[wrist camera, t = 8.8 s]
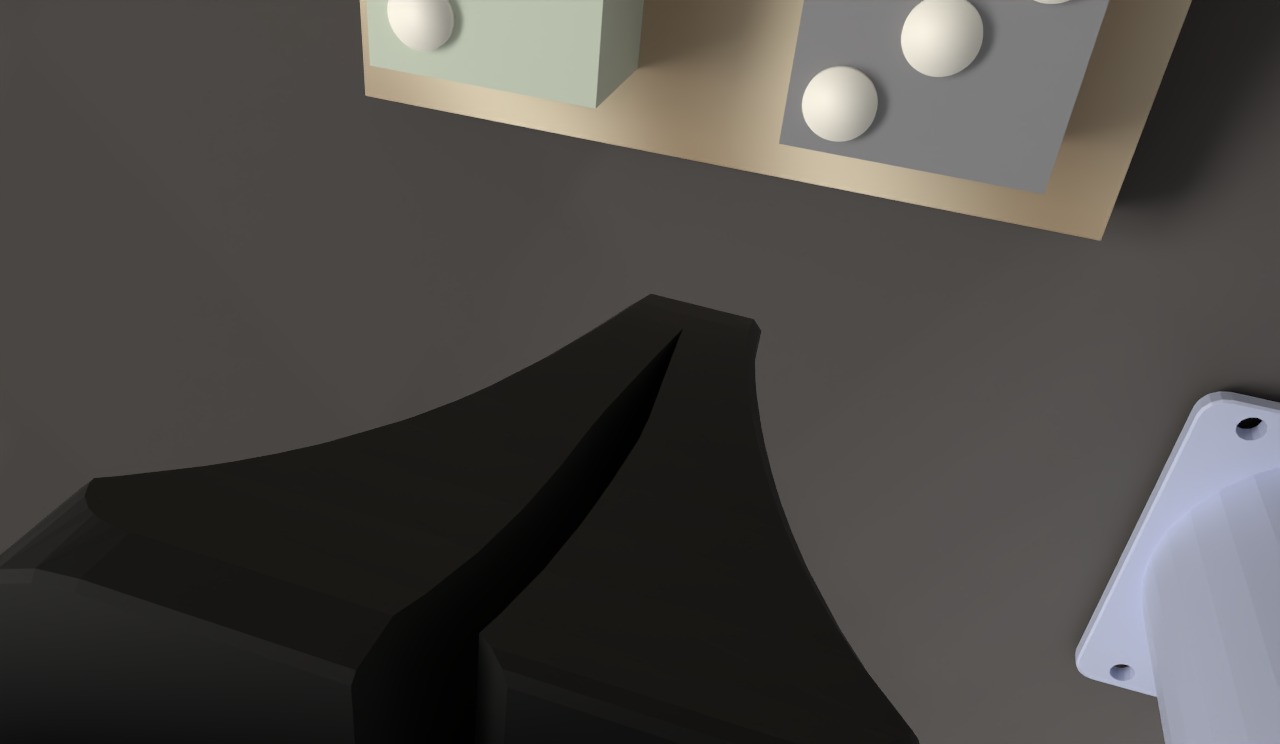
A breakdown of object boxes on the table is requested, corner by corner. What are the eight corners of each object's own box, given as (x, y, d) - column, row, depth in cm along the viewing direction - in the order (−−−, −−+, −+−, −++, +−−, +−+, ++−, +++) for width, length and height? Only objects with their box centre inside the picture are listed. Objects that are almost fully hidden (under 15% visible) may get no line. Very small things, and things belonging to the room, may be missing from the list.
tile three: (1122, -121, 15) (1144, -98, 13) (1038, 141, 17) (1044, 198, 15) (848, -158, 16) (826, -141, 13) (802, 98, 18) (777, 147, 16)
